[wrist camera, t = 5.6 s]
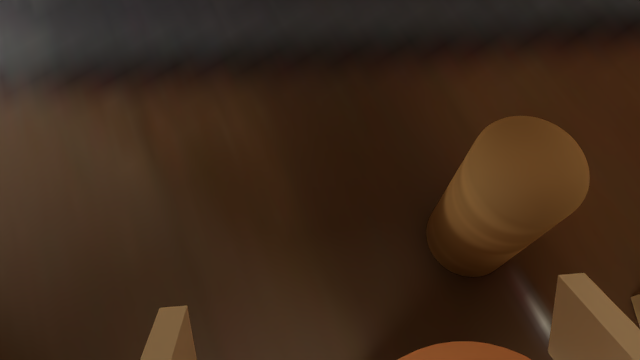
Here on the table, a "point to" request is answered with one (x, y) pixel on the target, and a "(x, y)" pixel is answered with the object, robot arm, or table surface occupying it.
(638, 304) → the collar block
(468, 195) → the short dowel
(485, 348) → the long dowel
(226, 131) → the table surface
